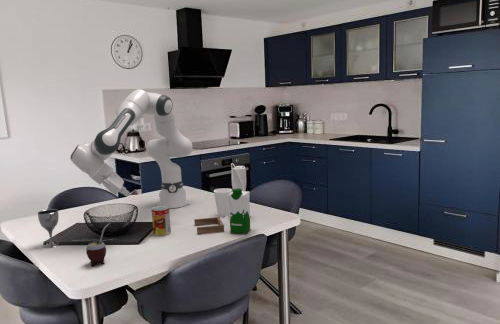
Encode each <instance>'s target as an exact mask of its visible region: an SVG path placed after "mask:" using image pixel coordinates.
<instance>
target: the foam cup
mask: <svg viewBox="0 0 500 324" xmlns="http://www.w3.org/2000/svg"><path fill="white" fill-rule="evenodd" d="M231 192H233V188H228V187H227V188H215V189H214V190H213V196H214V201H215V204H216V205H215V206H216V211H217V217H228V215H229V198H228V194H230V193H231ZM229 216H230V215H229Z"/></svg>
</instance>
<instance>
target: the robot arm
mask: <svg viewBox="0 0 500 324" xmlns="http://www.w3.org/2000/svg"><path fill="white" fill-rule="evenodd" d="M173 104H174V103H173V101H172V99H171V98H170V97H169V96H168V95H166V94H160V93H157V92H148V91H145V90H144V89H141V88H138V89H135V90H132V92H131V93H130V94H128V95H127V96H126V98H124V100H123V101H122V102H121V103H120V105H119V107H118V109H117V110H116V118H115V119H114V120H113V122H112V123H111V124H110V126H108V127H107V128H106V129H103V130H100V131H99V132H98V133H97V134H96V136H95V138H94V139H93V140H91V141H90V142H88V143H83V144H78V145H76V147H75V149H74V150H73V151H72V153H71V154H70V160H71V162H72V163H73V164H74V165H75V167H77V168H78V169H79V170H80V171H82V172H83V173H85V174H87V175H88V176H89V178H90V179H92V180H93V181H94V182H95V183H96V184H98V185H99V186H101V185H103V186H104V187H105V188H106V189H107V190H108V191H109V192H110V193H112V194H113V195H114V196H117V194H122V195H124V196H125V197H128V196H130V191H129V190H127V188H126V187H125V186H124V184H125V181H124V179H123V178H122V177H121V176H120V175H119V174H118V173H116V172H115V171H114V169H113V168H112V166H110V165H108V164H107V163H106V162H105V161H106V160H108V159H109V158H110V157H111V156H112V155H113V154H114V153H115V152H116V151H117V150H118V149H119V147H120V145H121V140H122V139H121V138H122V136H123V134H125V132H126V130H127V129H128V128H129V127H130V126H134V125H135V124H137V123H138V122H139V121H140V120H141V119H142V117H143V116H144V115H145V114H147V115H153V120H154V126H155V130H156V132H157V135H160V137H161V136H162V137H163V138H155V139H151V140H149V141H148V142H147V145H146V152H147V154H148V156H149V157H150V158H152V159H153V160H155V162H156V163H157V164H158V166H159V168H160V173H161V190H160V192H159V193H158V196H159V202H158V203H157V204H156V206H168V207H169V209H176V208H182V207H185V206H188V205H190V204H191V203H190V201H189V200H188V199H187V193H186V192H187V191H186V189H184V188H183V187H184V183H183V180H182V168H181V166H180V165H178V164H177V163H174V162H173V161H172V160H171V158H183V157H187V156H188V157H189V156H190V155H191V154H192V152H193V148H194V147H193V143H192V141H191V140H190V139H189V138H188V137H186V136H184V135H183V134H182V133H181V132H180V130H179V129H178V126H177V125H178V124H177V121H176V116H175V111H174V106H173Z"/></svg>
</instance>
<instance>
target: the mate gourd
mask: <svg viewBox="0 0 500 324" xmlns="http://www.w3.org/2000/svg"><path fill="white" fill-rule="evenodd" d="M110 223H111V222H109V223H107V224H106V225H105V226H104V227H103V228H102V230H101V235H100V237H99V240H96V241H92V242H91V241H90V242H89V243H88V245H87V246H86V250H85V251H86V256H87V258H88V260H90V266H91V267H95V266H97V265H105V264H106V263H105V257H106V254H107V248H106V244H105V243H104V242H103V241H102V239H103V236H104V233H105V230H106V228H107V227H108V226H109V225H110Z"/></svg>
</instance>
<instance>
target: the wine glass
mask: <svg viewBox="0 0 500 324" xmlns="http://www.w3.org/2000/svg"><path fill="white" fill-rule="evenodd" d="M37 218H38V222H39V224H40V226H41V227H42V228H43V229H44V230H46V231H47V233H48V236H49V242H48V243H49V244H48V243H45V244H46V245H45V244H44V245H42V247H43V248H45V249H51V248H56V247H58V246H57V245H56V244H54V242H53V232H54V229H55V228H56V227H57V225H58V223H59V210H58V209H56V208H50V209H43V210H40V211H38V212H37Z"/></svg>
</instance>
